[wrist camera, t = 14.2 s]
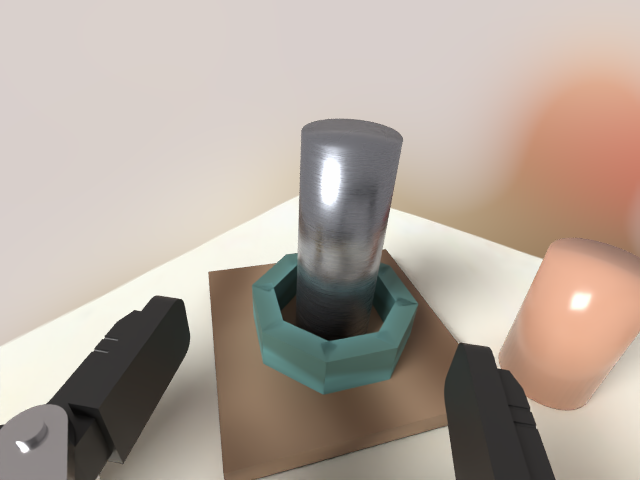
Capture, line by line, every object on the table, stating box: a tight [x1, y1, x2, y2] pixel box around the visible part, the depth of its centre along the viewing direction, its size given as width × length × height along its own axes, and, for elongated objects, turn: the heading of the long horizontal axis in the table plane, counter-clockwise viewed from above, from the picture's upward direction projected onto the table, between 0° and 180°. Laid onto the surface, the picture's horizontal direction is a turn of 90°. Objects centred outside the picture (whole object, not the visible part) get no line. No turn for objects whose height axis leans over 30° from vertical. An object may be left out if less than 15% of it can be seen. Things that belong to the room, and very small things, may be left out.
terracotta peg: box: [499, 238, 640, 410], centre depth 20 cm, size 5×5×8 cm
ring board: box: [208, 249, 459, 480], centre depth 23 cm, size 14×14×4 cm
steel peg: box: [296, 119, 403, 341], centre depth 20 cm, size 4×4×12 cm
